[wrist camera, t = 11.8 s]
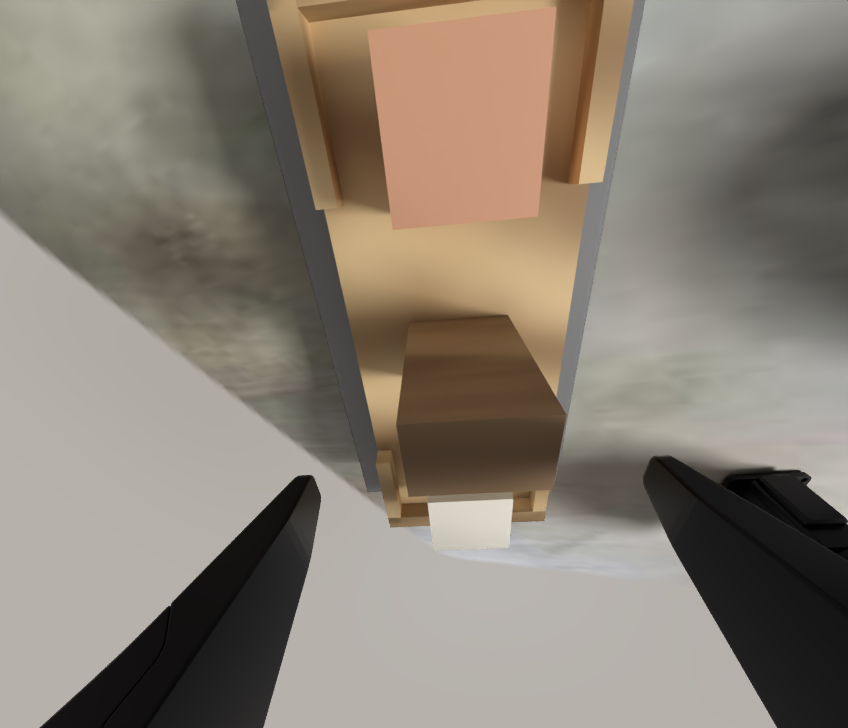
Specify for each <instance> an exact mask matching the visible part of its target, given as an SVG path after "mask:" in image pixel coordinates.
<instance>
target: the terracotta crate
mask: <svg viewBox="0 0 848 728" xmlns="http://www.w3.org/2000/svg"><path fill="white" fill-rule="evenodd" d="M555 18H556V7H549V8H541V9H533V10H525V11H517V12H509V13H501V14H494V15H486V16H478V17H470V18H462V19H454V20H446V21H438V22H430V23H423V24H415V25H407V26H399V27H391V28H383V29H375V30H367V33H368V41H369V49H370V57H371V65H372V73H373V80H374V88H375V96H376V104H377V112H378V120H379V127H380V135H381V143H382V151H383V159H384V167H385V174H386V182H387V190H388V198H389V206H390V214H391V222H392V229H393V230H399V229H410V228H421V227H431V226H442V225H453V224H464V223H475V222H485V221H496V220H507V219H518V218H528V217H538V212H539V200H540V189H541V177H542V166H543V155H544V143H545V132H546V120H547V109H548V98H549V86H550V75H551V63H552V52H553V41H554V29H555Z"/></svg>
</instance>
